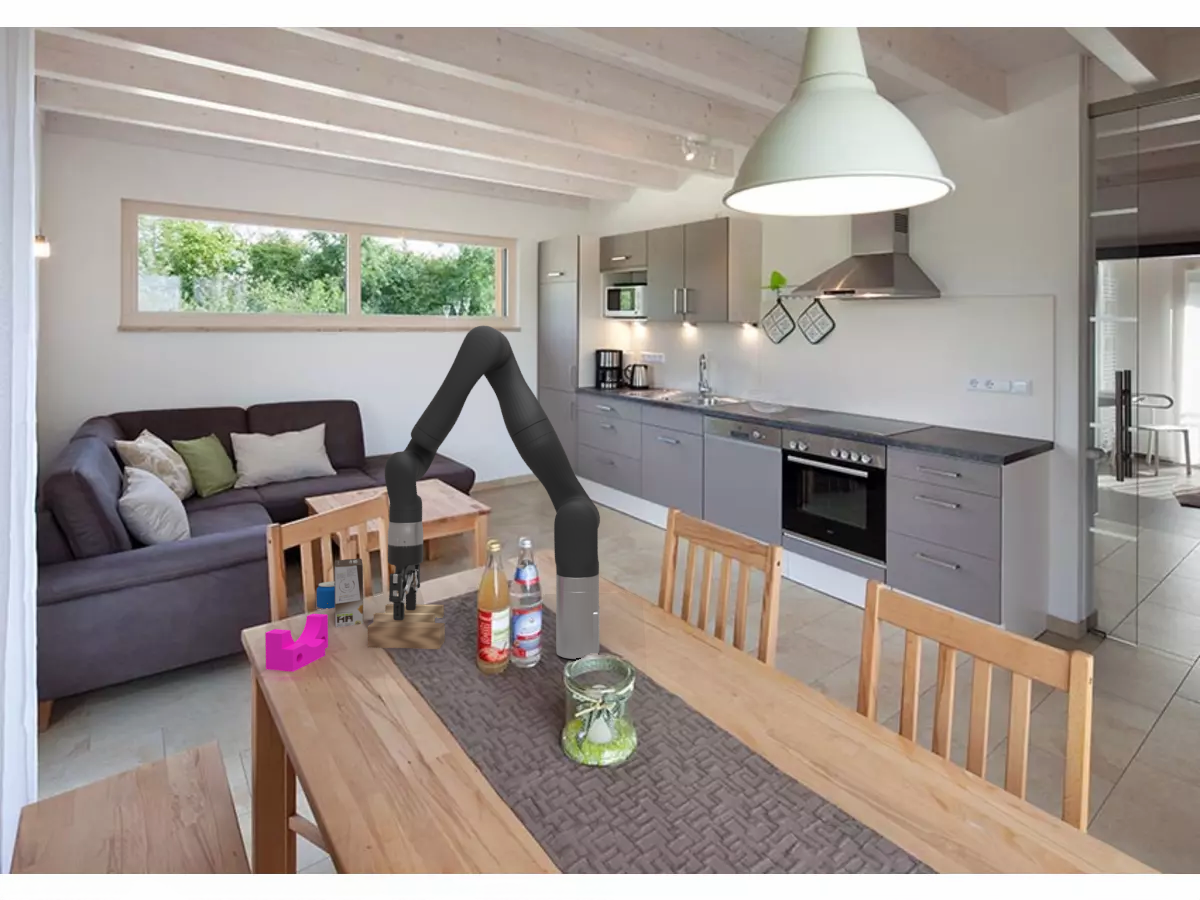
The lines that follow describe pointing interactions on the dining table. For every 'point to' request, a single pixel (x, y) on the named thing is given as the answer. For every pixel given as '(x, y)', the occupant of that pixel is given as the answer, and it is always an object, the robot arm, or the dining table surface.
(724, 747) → the dining table surface
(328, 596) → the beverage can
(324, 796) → the dining table surface
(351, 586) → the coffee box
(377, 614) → the rail stand
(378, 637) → the walnut beam
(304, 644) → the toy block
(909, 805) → the dining table surface
